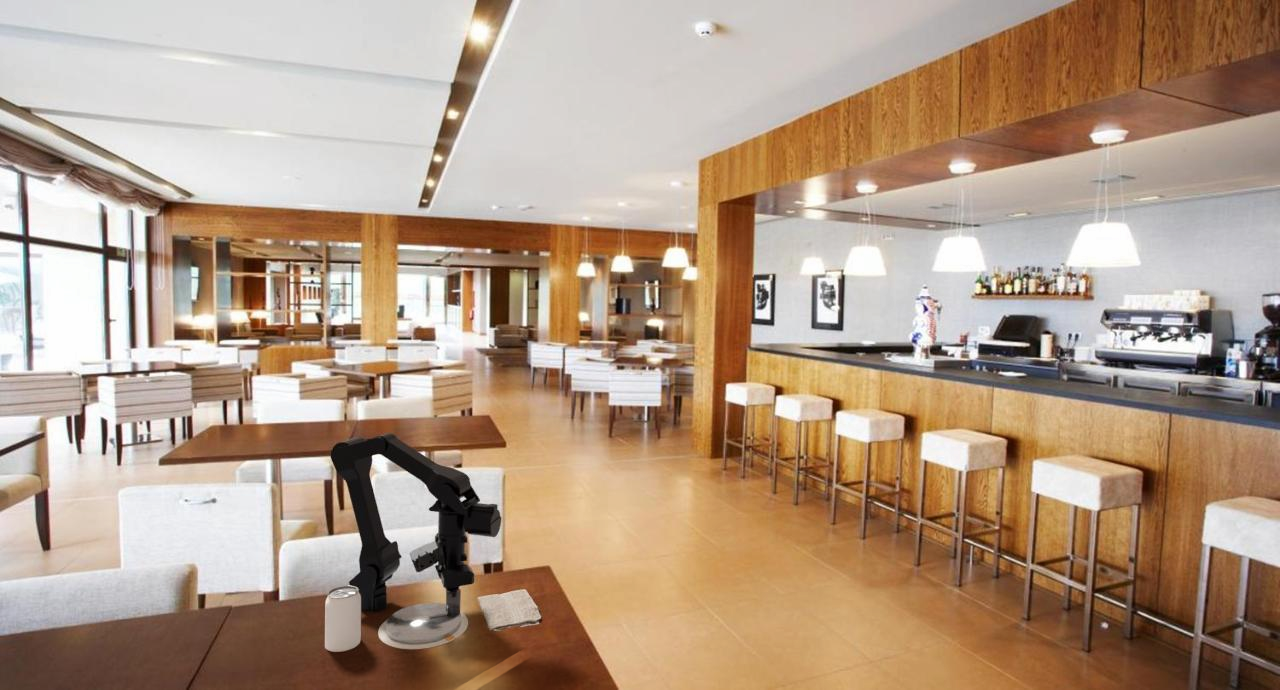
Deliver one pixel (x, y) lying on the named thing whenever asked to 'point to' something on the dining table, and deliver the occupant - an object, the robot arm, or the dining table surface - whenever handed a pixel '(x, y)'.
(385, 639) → the dial base
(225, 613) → the dining table surface
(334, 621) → the can
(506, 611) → the washcloth
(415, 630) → the dial
